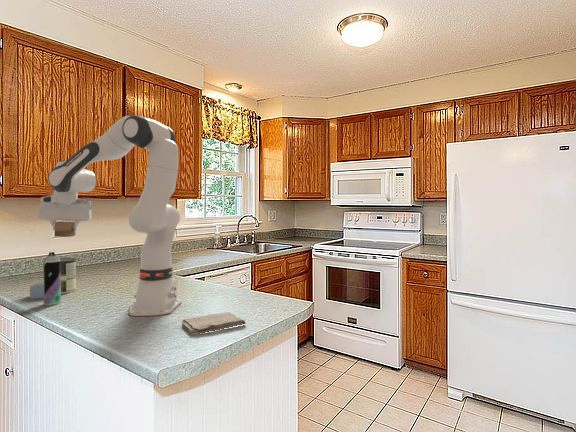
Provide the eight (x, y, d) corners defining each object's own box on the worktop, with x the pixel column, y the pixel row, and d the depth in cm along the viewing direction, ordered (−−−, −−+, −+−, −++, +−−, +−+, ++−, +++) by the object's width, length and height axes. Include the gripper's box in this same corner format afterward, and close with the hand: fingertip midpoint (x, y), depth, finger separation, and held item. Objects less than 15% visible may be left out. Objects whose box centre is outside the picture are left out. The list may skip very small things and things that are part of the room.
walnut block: (70, 236, 155) (70, 222, 155) (54, 236, 154) (54, 222, 154) (75, 235, 161) (75, 221, 161) (60, 235, 160) (60, 221, 160)
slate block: (44, 297, 150) (44, 285, 150) (30, 298, 148) (30, 286, 148) (46, 294, 155) (46, 283, 155) (32, 295, 153) (32, 283, 153)
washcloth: (179, 327, 118) (179, 317, 118) (230, 317, 128) (230, 308, 128) (192, 338, 108) (192, 328, 108) (246, 327, 118) (246, 317, 118)
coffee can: (52, 295, 153) (52, 262, 153) (45, 291, 160) (45, 259, 160) (79, 291, 161) (79, 259, 160) (72, 287, 168) (71, 257, 167)
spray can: (48, 306, 137) (47, 253, 137) (41, 304, 140) (40, 252, 140) (63, 302, 142) (62, 251, 141) (56, 300, 145) (55, 250, 144)
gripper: (94, 199, 162) (93, 231, 162) (43, 197, 158) (43, 229, 159) (89, 200, 156) (88, 232, 156) (36, 197, 152) (35, 230, 152)
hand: (65, 231), depth 157 cm, fingers closed on walnut block, 6 cm apart
